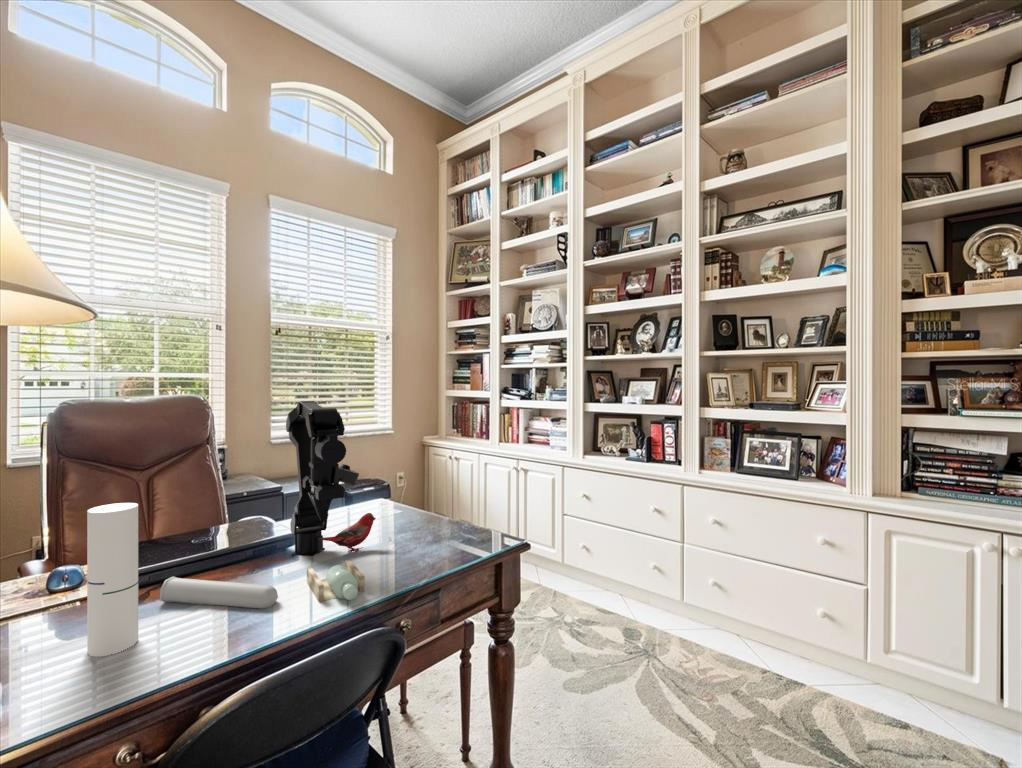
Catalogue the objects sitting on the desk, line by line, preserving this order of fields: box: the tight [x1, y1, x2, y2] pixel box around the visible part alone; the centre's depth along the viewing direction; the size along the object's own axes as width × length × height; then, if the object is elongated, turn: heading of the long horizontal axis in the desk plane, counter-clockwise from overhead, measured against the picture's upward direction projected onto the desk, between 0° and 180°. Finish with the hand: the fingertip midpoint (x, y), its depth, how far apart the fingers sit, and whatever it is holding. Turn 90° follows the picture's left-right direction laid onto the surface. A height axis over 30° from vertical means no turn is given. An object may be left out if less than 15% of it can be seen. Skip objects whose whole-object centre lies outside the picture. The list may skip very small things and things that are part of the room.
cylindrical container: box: [86, 502, 139, 658], centre depth 89 cm, size 7×7×25 cm
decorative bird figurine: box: [318, 512, 377, 553], centre depth 137 cm, size 3×18×10 cm, turn 138°
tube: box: [159, 575, 279, 610], centre depth 106 cm, size 5×5×25 cm
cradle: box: [306, 559, 365, 603], centre depth 113 cm, size 12×10×4 cm
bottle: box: [325, 564, 359, 601], centre depth 109 cm, size 5×5×11 cm
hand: (323, 520), depth 123 cm, fingers closed
